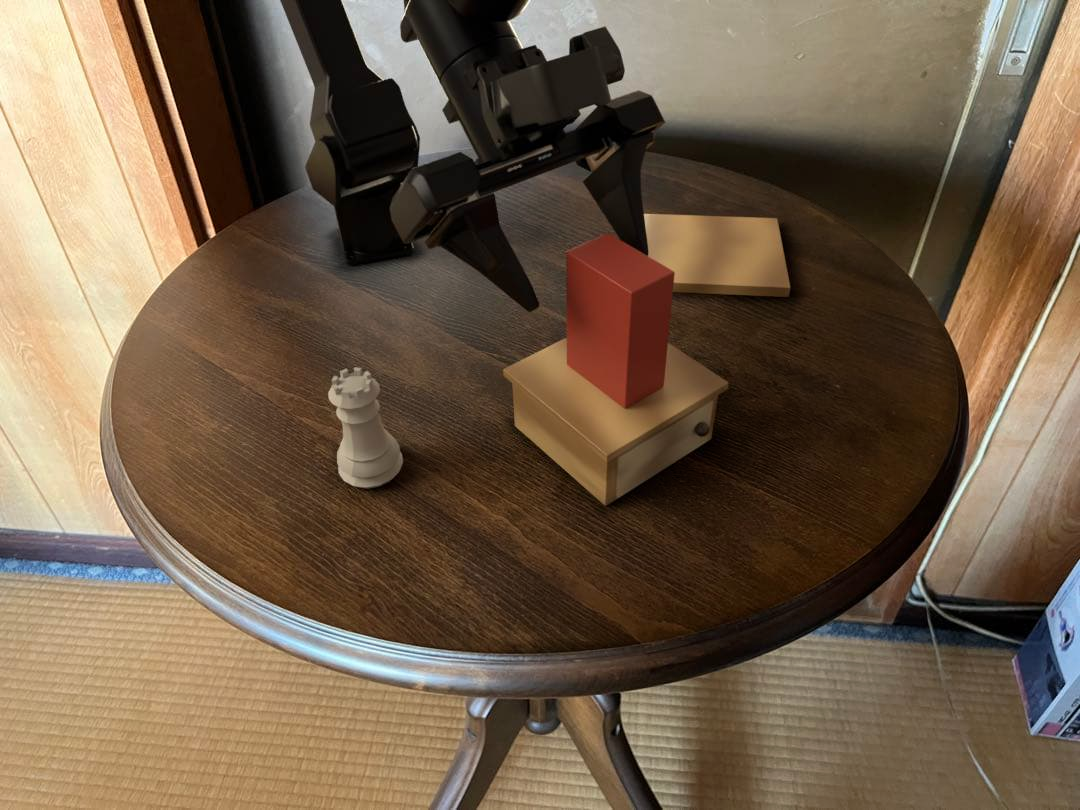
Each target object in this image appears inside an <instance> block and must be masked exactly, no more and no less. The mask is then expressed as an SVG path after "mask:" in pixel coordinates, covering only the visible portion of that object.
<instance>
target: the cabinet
mask: <svg viewBox="0 0 1080 810" xmlns="http://www.w3.org/2000/svg"><path fill="white" fill-rule="evenodd" d="M502 372H503V373H502V374H503V377H504V378H505V379H506V380H508V381H509V382H510V383H511V386H512V403H513V413H514V414H513V417H514V427H516V429H518V430H519V431H520V432H521V433H522V434H523V435H524V436H525V437H527V439H529V440H530V441H531V442H532V443H533V444H534V445H536V446H537V447H538V448H539V449H540V450H541V451H543V452H544V453H545V454H546V455H547V456H548V457H549V458H550V459H551V460H553V461H554V462H555V463H556V464H557V465H559V466H560V467H561V468H562V469H563V470H564V471H565V472H566V473H567V474H569V476H571V477H572V478H573V479H574V480H575V481H576V482H578V483H579V484H580V485H581V486H582V487H583V488H584V489H585V490H587V492H589V493H590V494H591V495H593V497H594V498H596V499H597V500H598V501H599V502H600V503H601V504H603V505H604V506H606V507H607V506H608V505H610V504H611V503H613V502H615V501H616V500H617V499H619V498H621V497H622V496H624V495H625V494H627V493H629V492H631V491H632V490H634V489H635V488H637V487H639V485H641V484H643V483H644V482H646V481H648V480H649V479H650V478H652V477H654V476H655V475H657V474H658V473H660V472H661V471H664V470H665V469H667V468H668V467H669V466H672V464H675V463H676V462H677V461H679V460H680V459H682V458H684V457H685V456H687V455H688V454H690V453H692V452H693V451H695V450H697V449H698V448H700V447H701V446H703V445H704V444H706V443H707V442H709V441H711V440H712V437H713V430H714V425H715V423H714V422H715V417H716V411H717V404H718V398H719V395H721V394H722V393H724V392H725V391H727V390H728V389H729V383H730V382H728V381H727V380H725V379H724V378H722V377H721V376H719V375H718V374H716V373H715V372H713V371H712V370H710V369H709V368H707V367H706V366H704V365H703V364H701V363H700V362H698V361H697V360H695V359H694V358H692V357H691V356H689V355H688V354H686V353H685V352H683V351H682V350H680V349H679V348H677V347H675V346H674V345H672V344H671V343H670V342H668V347H667V358H666V368H665V378H664V387H663V388H661V389H659V390H657V391H656V392H654V393H652V394H650V395H649V396H647V397H645V398H643V399H642V400H640V401H638V402H637V403H635V404H633V405H631V406H630V407H628V408H626V409H625V408H623V407H622V406H621V405H619V404H618V403H617V402H615V401H614V400H613V399H611V398H610V397H609V396H607V395H606V394H605V393H604V392H602V391H601V390H600V389H598V388H597V387H596V386H594V385H593V384H592V383H590V382H589V381H588V380H586V379H585V378H584V377H583V376H581V375H580V374H579V373H577V372H576V371H575V370H573V369H572V368H571V367H569V366H568V365H567V337H565V338H563V339H561V340H559V341H557V342H555V343H553V344H551V345H549V346H547V347H545V348H543V349H541V350H539V351H537V352H535V353H533V354H531V355H529V356H527V357H525V358H523V359H521V360H519V361H517V362H515V363H513V364H511V365H509V366H507V367H505V368H504V369H503V370H502Z"/></svg>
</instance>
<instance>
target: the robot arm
mask: <svg viewBox="0 0 1080 810" xmlns="http://www.w3.org/2000/svg"><path fill="white" fill-rule="evenodd" d="M279 1H280V5H281V7H282V9H283V12H284V13H285V16H286V19H287V21H288V24H289V26H290V28H291V29H290V30H291V31H292V33H293V36H294V37H295V38H294V39H295V41H296V43H297V47H298V49H299V52H300V53H301V56H302V58H303V62H304V64H305V67H306V68H307V71H308V73H309V76H310V79H311V82H312V84H313V87H314V91H313V98H312V105H311V112H310V117H309V118H310V119H309V127H310V130H311V132H312V135H313V139H314V144H313V146H312V148H311V151H310V153H309V156H308V158H307V161H306V163H305V166H304V169H305V171H306V174H307V177H308V181H309V182H310V185H311V188H312V190H313V191H314V192H315V193H317V195H319V196H320V197H321V198H323V199H324V200H325V201H327V202H328V203H329V204H330V205H332V206H333V209H334V214H335V218H336V224H337V229H336V231H337V237H338V240H339V243H340V247H341V248H340V249H341V251H342V255H343V259H344V263H345V264H346V265H348V266H350V265H355V264H361V263H367V262H372V261H378V260H385V259H388V258H389V259H391V258H394V257H399V256H405V255H410V254H412V253H414V252H415V246H414V243H413V242H415V241H419V240H420V239H424V238H426V237H427V238H426V240H424V244H425V246H426V247H427V249H429V250H432V249H435V248H437V247H440V248H443V249H444V250H446V251H447V252H448V253H450V254H452V255H453V256H455V257H456V258H457V259H459V260H460V261H462V262H463V263H465V264H467V265H468V266H470V267H472V269H474V270H475V271H477V272H478V273H480V274H481V275H482V276H483V277H485V278H486V279H487V280H488V281H490V282H491V283H492V284H493V285H494V286H495V287H497V288H498V289H500V290H501V291H502V292H503V293H505V294H506V295H507V296H508V297H509V298H510V299H512V300H513V301H514V302H515V303H516V304H518V305H519V306H520V307H521V308H522V309H524V311H526V312H528V313H533V312H535V311H536V310H538V309H539V308H540V301H539V299H538V297H537V295H536V292H535V290H534V287H533V284H532V283H531V282H532V281H530V278H529V276H528V275H527V273H526V271H525V269H524V267H523V266H522V264H521V262H520V260H519V257H517V255H516V252H515V251H514V249H513V247H512V245H511V243H510V241H509V240H508V238H507V236H506V234H505V232H504V231H503V229H502V227H501V224H500V218H499V212H498V206H497V200H496V195H495V192H499V191H502V190H503V189H506V188H509V187H511V186H514V185H517V184H519V183H523V182H525V181H527V180H530V179H532V178H535V177H537V176H541V175H543V174H545V173H549V172H551V171H554V170H556V169H559V168H561V167H564V166H567V165H569V164H572V163H574V162H575V164H576V165H577V166H578V167H580V168H582V169H584V170H586V171H588V172H590V173H589V174H588V175H587V176H586V177H585V178H583V179H582V183H583V185H584V186H585V188H586V189H587V192H588V193H589V194H590V195H591V197H592V199H593V201H594V202H595V204H596V205H597V206H598V208H599V209H600V211H601V213H602V214H603V215H604V217H605V219H606V220H607V221H608V223H609V225H610V226H611V228H612V229H613V231H614V233H615V235H617V238H618V239H619V240H621V241H623V242H624V243H626V244H628V245H630V246H631V247H633V248H635V249H636V250H638V251H640V252H642V253H643V254H645V255H647V256H648V254H649V250H648V243H647V235H646V227H645V219H644V214H645V213H644V205H643V195H642V173H641V172H642V166H643V162H644V158H645V155H646V151H647V149H648V148H650V147H651V146H652V145H653V144H654V143H655V141H656V132H657V131H658V130H659V129H660V128H661V127H662V126H664V124H666V122H667V121H666V120H665V118H664V116H663V114H662V112H661V109H660V108H659V105H658V104H657V102H656V100H655V98H654V97H653V95H652V94H649V93H646V92H645V91H642V90H639V89H636V90H634V91H631V92H628V93H626V94H621V95H620V96H616V97H614V98H612V97H611V92H610V89H609V85H612V84H615V83H618V82H620V81H621V82H622V80H623V79H624V75H625V74H626V73H625V71H626V69H625V65H624V61H623V56H622V51H621V49H620V48H619V45H618V44H617V42H616V41H615V39H614V38H613V36H612V35H611V32H610V31H609V29H608V27H606V26H601V27H598V28H594V29H592V30H588V31H585V32H583V33H581V34H578V35H574V36H572V37H570V39H569V41H568V43H569V44H568V54H566V55H563V56H559V57H557V58H553V59H549V60H547V58H546V57H545V54H544V52H543V50H541V48H538V46H537V45H536V44H533V45H529V46H527V47H523V45H522V43H521V41H520V39H519V37H518V35H517V33H516V31H515V29H514V27H513V25H512V23H511V21H512V20H514V19H515V18H517V17H518V16H520V15H521V14H522V13H523V11H524V10H525V9H526V8H527V6H528V5H529V3H530V2H531V0H403V6H404V7H403V14H402V17H401V21H400V24H399V29H400V31H399V32H400V39H401V40H402V42H403V43H405V44H406V43H412V42H414V41H418V43H419V45H420V47H421V49H422V51H423V53H424V55H425V58H426V59H427V61H428V63H429V65H430V67H431V69H432V71H433V73H434V74H435V77H436V78H437V81H438V82H439V85H440V86H441V88H442V91H443V93H444V94H445V97H446V98H447V101H446V103H445V104H444V107H442V110H441V111H442V112H443V115H444V117H445V119H446V121H447V123H448V125H450V124H453V123H457V122H459V124H460V126H461V128H462V130H463V132H464V134H465V135H466V137H467V140H468V141H469V144H470V145H471V147H472V150H473V151H474V154H475V156H476V157H477V158H476V159H475V160H474V159H473V158H472V157H470V156H469V155H467V154H465V153H463V152H462V151H458V152H455V153H452V154H449V155H447V156H444V157H441V158H437V159H436V160H433V161H430V162H427V163H423V164H421V165H419V160H420V159H419V158H420V147H421V137H420V134H419V131H418V129H417V126H416V124H415V122H414V120H413V119H412V117H411V115H410V113H409V110H408V108H407V106H406V103H405V100H404V96H403V93H402V89H401V87H400V85H399V84H398V83H397V82H396V80H394V79H393V78H392V77H388V78H385V79H383V78H382V77H381V76H380V75H379V74H377V72H375V71H374V70H373V69H372V68H371V67H370V66H369V65H368V63H367V61H366V58H365V57H364V54H363V51H362V49H361V46H360V43H359V40H358V38H357V36H356V32H355V30H354V26H353V25H352V22H351V19H350V17H349V15H348V11H347V9H346V7H345V3H344V1H343V0H279ZM591 106H596V107H595V108H594V109H593V110H592V111H591V112H590V113H589V114H588V115H587V116H586V118H584V119H583V120H582V122H581V123H579V125H578V126H577V127H576V128H575V129H573V130H570V131H568V132H566V131H565V128H566V127H567V126H569V125H571V124H574V123H575V121H577V119H578V118H579V117H580V116H581V115H582V114H581V111H580V110H583V109H586V108H589V107H591ZM549 154H550V155H549ZM548 155H549V156H548ZM545 156H546V157H545ZM540 158H541V159H540ZM519 166H520V167H519ZM516 167H517V168H516ZM514 168H515V169H514ZM509 169H512V170H510V171H509Z"/></svg>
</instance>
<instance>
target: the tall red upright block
mask: <svg viewBox="0 0 1080 810" xmlns="http://www.w3.org/2000/svg"><path fill="white" fill-rule="evenodd" d="M565 258H566V259H565V272H566V273H565V277H566V278H565V281H566V282H565V284H566V285H565V286H566V287H565V288H566V289H565V290H566V291H565V293H566V300H565V301H566V306H565V307H566V310H565V311H566V338H567V365H568V366H569V367H571V368H572V369H573V370H575V371H576V372H577V373H579V374H580V375H581V376H583V377H584V378H585V379H586V380H588V381H589V382H590V383H592V384H593V385H594V386H596V387H597V388H598V389H600V390H601V391H602V392H604V393H605V394H606V395H607V396H609V397H610V398H611V399H613V400H614V401H615V402H617V403H618V404H619V405H621V406H622V407H623V408H625V409H626V408H628V407H630V406H631V405H633V404H635V403H637V402H638V401H640V400H642V399H643V398H645V397H647V396H649V395H650V394H652V393H654V392H656V391H657V390H659V389H661V388H663V387H664V378H665V368H666V358H667V347H668V343H669V336H670V327H671V326H670V325H671V317H672V316H671V315H672V306H673V305H672V304H673V297H674V296H673V295H674V294H673V293H674V292H673V285H674V275H675V272H674V271H672V270H671V269H669V268H667V267H665V266H664V265H662V264H660V263H659V262H657V261H655V260H654V259H652V258H650V257H648V256H647V255H645V254H643V253H642V252H640V251H638V250H636V249H635V248H633V247H631V246H630V245H628V244H626V243H624V242H623V241H621V240H620V239H619V237H616V236H614V235H613V234H611V233H609V232H607V233H605V234H602V235H600V236H598V237H596V238H594V239H591V240H589V241H586V242H584V243H581V244H580V245H578V246H576V247H575V246H574V247H573V248H571V249H568V250H567V251H566V252H565Z"/></svg>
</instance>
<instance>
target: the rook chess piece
mask: <svg viewBox="0 0 1080 810" xmlns="http://www.w3.org/2000/svg"><path fill="white" fill-rule="evenodd" d="M339 375H340V377H339V376H337V375H333V377H332V378H331V380H330V381H331V387H330V389H329V390H328V395H327V396H328V400H329V401H330V403H331V404H332V405H333V406H335V407H336V409H335V411H336V417H337V418H338V419H339V420H340V421H341V425H342V439H341V441H340V443H339V447H338V449H337V453H336V465H337V469H338V475H339V476H340V477H341V479H342V480H343V482H345V483H347V484H349V485H351V486H353V487H355V488H358V489H366V490H370V489H373V488H374V489H375V488H379V487H383V486H384V485H386V484H389V483H390V482H391V481H392V480H393V479H395V477H396V476H397V475H398V474H399V473H400V471H401V469H402V466H403V464H404V459H403V453H402V452H401V449H400V444H399V442H398V441H397V440H396V439H395V437H394V436H393V435H392V434H390V432H389V431H388V430H387V429H385V428H384V424H383V422H382V420H381V418H380V415H379V411H380V409H381V406H380V405H381V404H380V401H378V399H377V397H378V395H379V394H380V392H381V390H380V389H381V388H380V383H378V382H377V380H376V379H375V378H373V377H372V373H370V371H368V370H366V371H365V372H363V368H362V367H353V372H352V373H349V370H348V368H344V369H342V370H340V371H339Z"/></svg>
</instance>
